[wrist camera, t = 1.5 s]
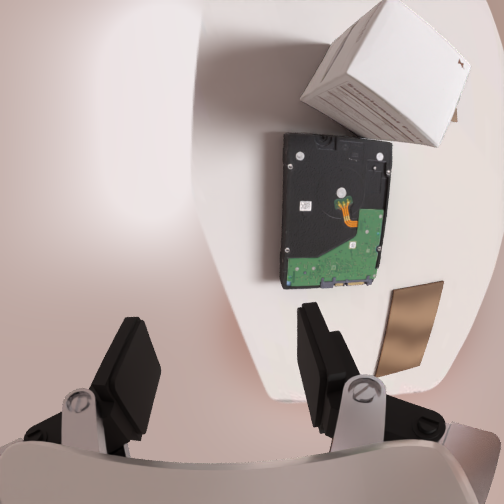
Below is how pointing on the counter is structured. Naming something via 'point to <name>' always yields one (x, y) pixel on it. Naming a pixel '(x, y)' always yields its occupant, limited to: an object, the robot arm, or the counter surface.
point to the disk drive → (333, 210)
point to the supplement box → (390, 78)
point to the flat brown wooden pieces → (409, 324)
